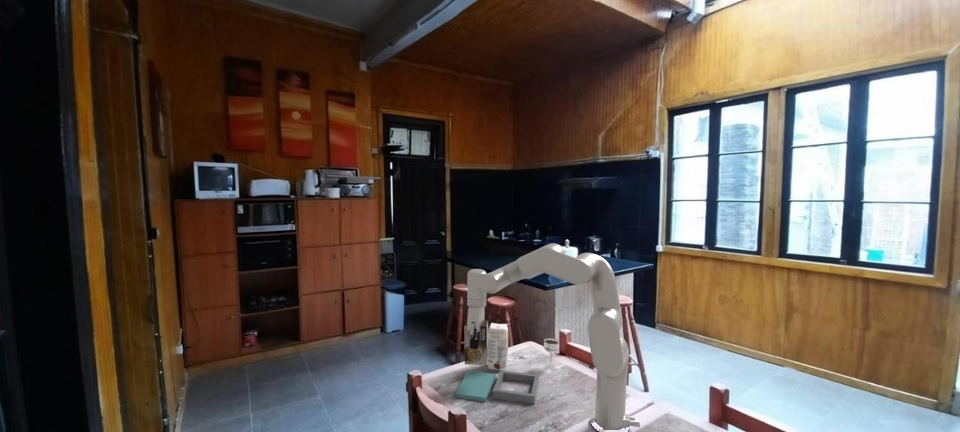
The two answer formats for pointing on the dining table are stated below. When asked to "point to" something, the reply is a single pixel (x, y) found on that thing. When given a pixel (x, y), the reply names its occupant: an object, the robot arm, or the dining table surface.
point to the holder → (512, 394)
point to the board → (476, 386)
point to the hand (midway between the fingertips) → (476, 344)
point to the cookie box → (481, 353)
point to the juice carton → (497, 346)
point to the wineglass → (551, 349)
